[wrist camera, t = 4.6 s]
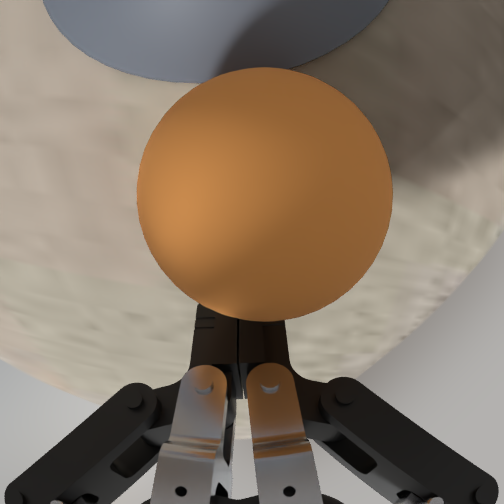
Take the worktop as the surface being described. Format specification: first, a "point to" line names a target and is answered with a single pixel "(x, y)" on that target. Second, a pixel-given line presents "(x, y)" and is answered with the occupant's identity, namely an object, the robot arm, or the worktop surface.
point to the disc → (208, 33)
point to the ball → (264, 194)
